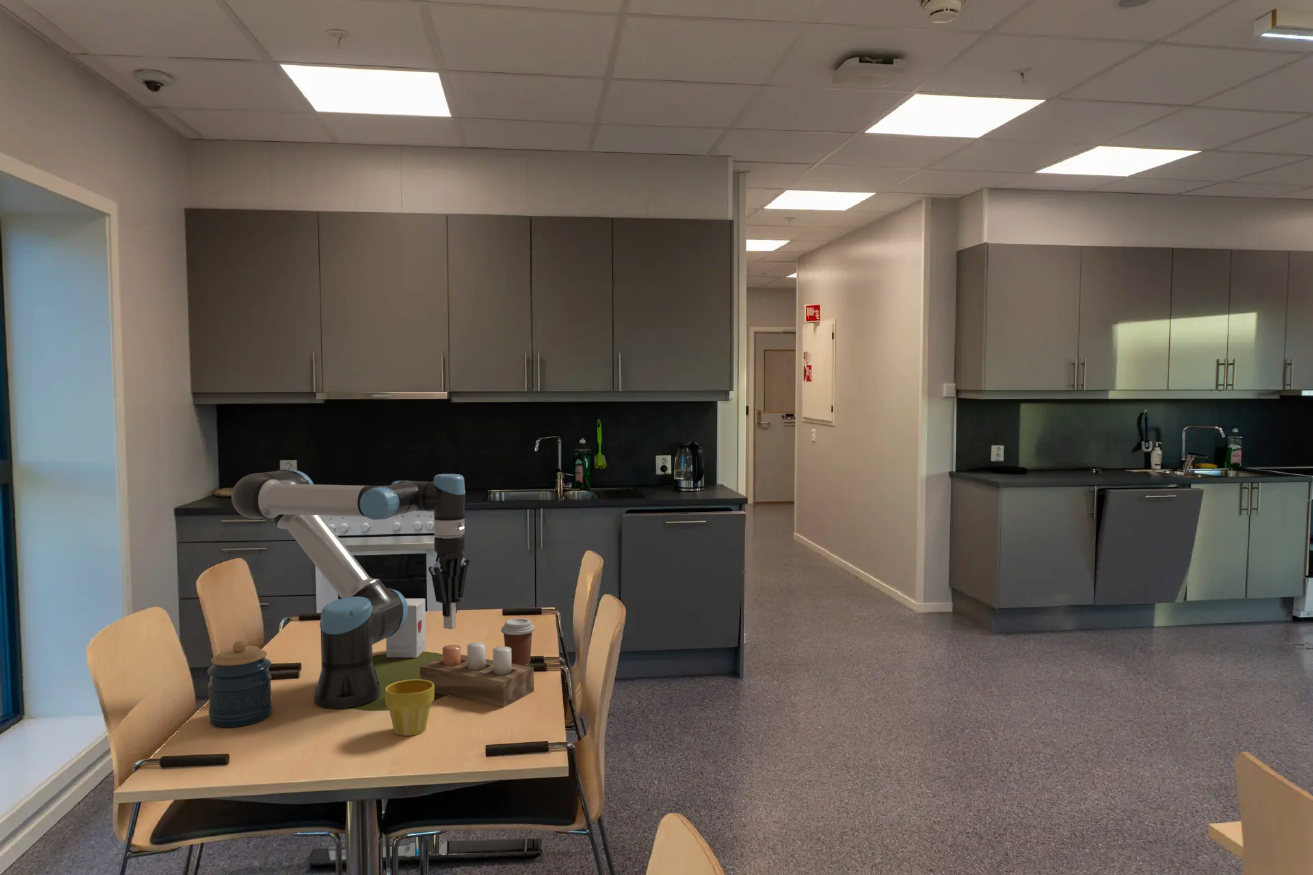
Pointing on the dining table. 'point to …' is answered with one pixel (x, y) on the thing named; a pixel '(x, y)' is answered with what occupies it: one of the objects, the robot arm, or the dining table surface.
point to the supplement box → (409, 633)
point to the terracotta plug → (451, 655)
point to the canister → (239, 686)
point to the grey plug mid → (476, 656)
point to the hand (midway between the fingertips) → (449, 627)
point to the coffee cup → (518, 639)
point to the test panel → (479, 682)
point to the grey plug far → (502, 661)
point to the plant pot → (409, 705)
